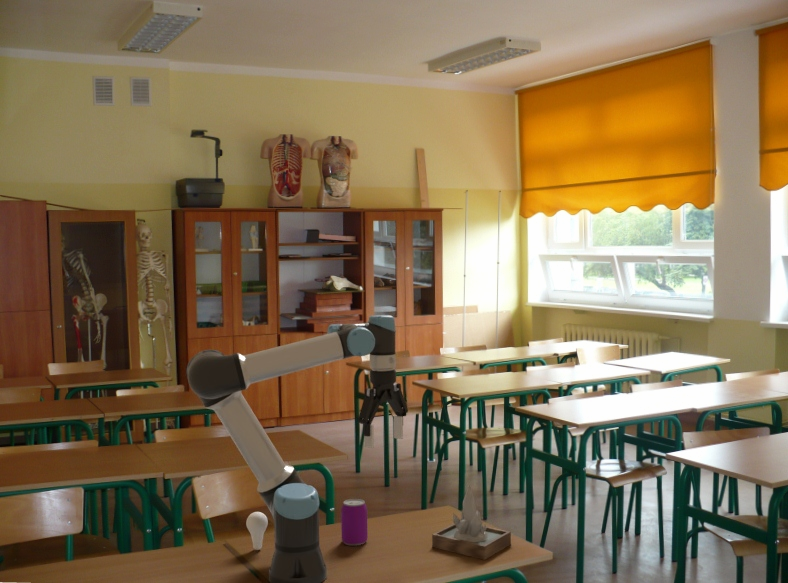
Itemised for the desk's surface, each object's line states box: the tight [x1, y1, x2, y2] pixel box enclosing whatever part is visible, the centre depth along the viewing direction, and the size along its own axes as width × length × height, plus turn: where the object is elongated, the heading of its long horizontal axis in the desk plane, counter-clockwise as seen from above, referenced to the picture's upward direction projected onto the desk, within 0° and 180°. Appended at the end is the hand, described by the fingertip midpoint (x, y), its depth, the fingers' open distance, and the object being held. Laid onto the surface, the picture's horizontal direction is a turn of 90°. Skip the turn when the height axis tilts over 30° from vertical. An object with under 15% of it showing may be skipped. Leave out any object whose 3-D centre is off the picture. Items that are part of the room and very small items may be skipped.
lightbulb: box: [245, 511, 269, 551], centre depth 228 cm, size 6×6×11 cm
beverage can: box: [340, 498, 369, 547], centre depth 233 cm, size 8×8×12 cm
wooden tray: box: [431, 523, 512, 561], centre depth 229 cm, size 18×15×4 cm
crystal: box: [452, 483, 488, 542], centre depth 228 cm, size 10×13×15 cm
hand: (384, 442), depth 227 cm, fingers open, 13 cm apart
